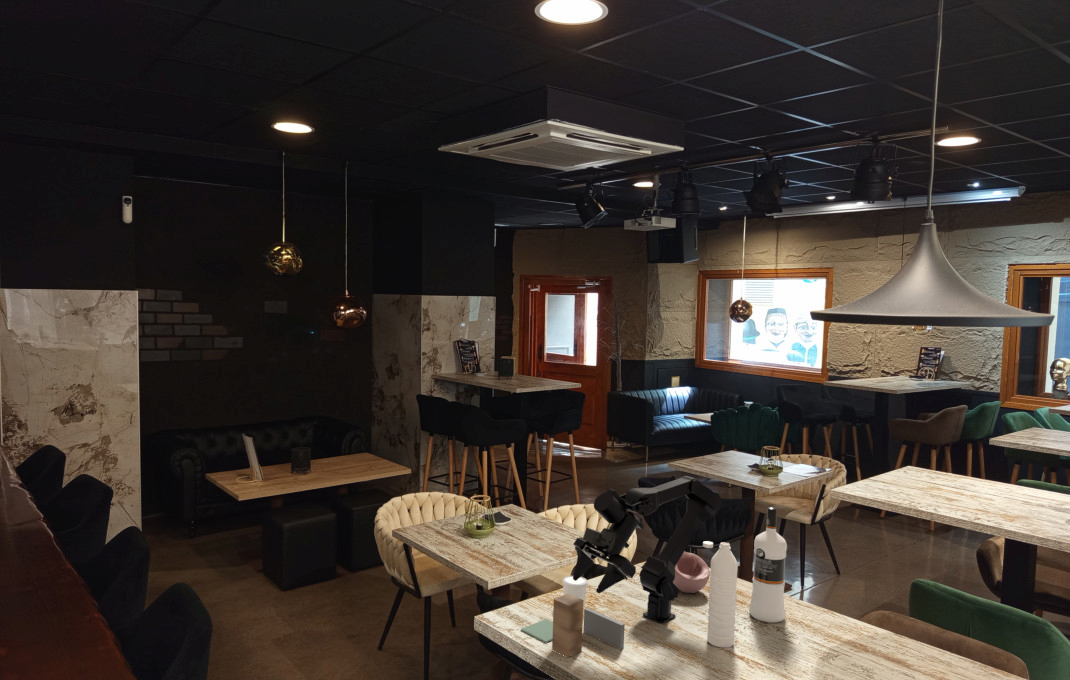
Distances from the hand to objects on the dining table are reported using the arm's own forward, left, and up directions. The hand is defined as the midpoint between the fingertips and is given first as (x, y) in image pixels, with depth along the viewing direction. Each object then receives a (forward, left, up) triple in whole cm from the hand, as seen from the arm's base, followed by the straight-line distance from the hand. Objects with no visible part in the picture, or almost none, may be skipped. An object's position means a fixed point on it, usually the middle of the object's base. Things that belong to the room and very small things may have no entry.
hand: (585, 586), depth 175 cm
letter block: (+8, +1, -13) cm, 15 cm away
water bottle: (-24, +22, -14) cm, 36 cm away
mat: (+4, -9, -13) cm, 17 cm away
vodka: (-48, +23, -14) cm, 55 cm away
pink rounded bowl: (-46, -1, -14) cm, 48 cm away
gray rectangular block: (-3, +3, -13) cm, 14 cm away
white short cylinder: (-13, -16, -14) cm, 25 cm away
